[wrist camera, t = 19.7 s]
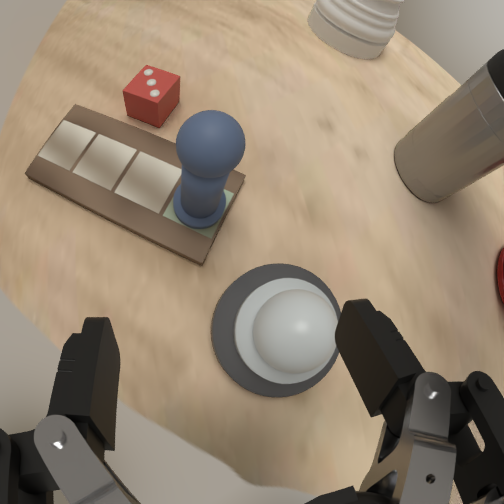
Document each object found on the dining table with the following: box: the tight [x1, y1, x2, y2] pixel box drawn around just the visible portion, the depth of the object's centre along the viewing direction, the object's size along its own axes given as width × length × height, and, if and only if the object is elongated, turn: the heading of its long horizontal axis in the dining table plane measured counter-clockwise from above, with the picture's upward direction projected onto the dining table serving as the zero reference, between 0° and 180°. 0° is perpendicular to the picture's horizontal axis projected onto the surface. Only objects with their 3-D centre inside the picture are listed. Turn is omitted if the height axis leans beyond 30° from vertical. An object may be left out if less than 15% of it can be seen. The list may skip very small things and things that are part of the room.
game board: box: [25, 104, 246, 265], centre depth 26 cm, size 9×20×1 cm, turn 66°
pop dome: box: [233, 278, 338, 384], centre depth 22 cm, size 8×8×6 cm
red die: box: [123, 65, 180, 128], centre depth 27 cm, size 4×4×4 cm
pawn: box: [173, 110, 245, 229], centre depth 21 cm, size 4×4×12 cm
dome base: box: [211, 264, 341, 397], centre depth 26 cm, size 11×11×2 cm
